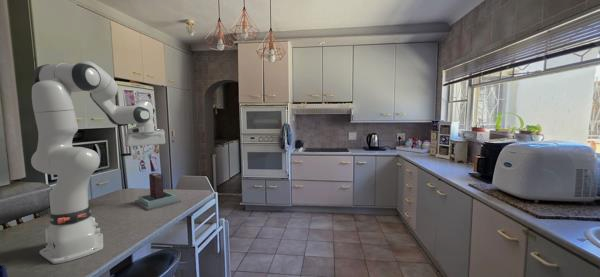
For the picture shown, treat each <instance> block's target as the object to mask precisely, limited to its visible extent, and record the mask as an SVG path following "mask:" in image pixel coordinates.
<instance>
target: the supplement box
mask: <svg viewBox="0 0 600 277" xmlns="http://www.w3.org/2000/svg"><path fill="white" fill-rule="evenodd" d="M148 176H149V193H150V194H149V195H150V197H151V200H157V199H161V198H164V193H163V192H164V178H163V176H164V175H163V174H161V173H158V172H154V173H149V174H148Z"/></svg>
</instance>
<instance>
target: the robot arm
mask: <svg viewBox="0 0 600 277" xmlns="http://www.w3.org/2000/svg"><path fill="white" fill-rule="evenodd" d="M32 80H33V82H34V84H33V85H32V87H31V101H32V102H31V103H32V109H33V114H34V119H35V124H36V126H37V133H38V134H37V135H38V140H37V147H36V151H35V152H34V153H33V154H32V155H31V156H32V157H31V158H30V164H31V166H32V167H33V169H35V170H36V171H38V172H40V173H42V174H46V175H52V176H53V175H54V176H55V175H56V176H57V179H56V184H55V186H54V188H53V189H51V190H50V192H49V195H48V196H49V207H50V209H49V210H50V213H49V217H48V218H49V223H50V225H49V226H48V227H47V228H46V229H45V230H44V231H45V232H44V234H45V248H42V249H41V250H39V255H41V257H43V258H44V259H46V260H48V261H49V262H50V263H52V264H53V265H54V264H63V263H67V262H70V261H74V260H77V259H80V258H84V257H87V256H89V255H92V254H95V253H97V252H99V251H101V250H103V249H104V234H103V233H101V227H98V226H99V224H98V222H96V218H95V217H93V216H92V210H91V206H90V205H89V193H88V192H89V190H88V189H89V184H90V179H91V177H92V175H93V174H94V172H95V171H97V170H98V169H99V166H100V163H101V158H100V155H99V153H98V152H97V151H95V150H93V149H91V148H87V147H83V146H73V139H74V136H75V134H76V133H78V130H79V125H78V121H77V115H76V111H75V107H74V106H75V105H74V103H73V99H72V97H71V94H72V93H77V92H78V93H79V92H84V91H85V92H89V96H90V98H91V100H92V101H93V103H94V104H96V106H98V108H99V109H100V110H101V111H102V112H103V113H104V114H105V115H106V116H107V118H108V120H109V121H110V122H111V123H112V125H117V126H118V125H132V124H133V125H134V124H135V126H133V127H129V128H128V129H126V134H125V137H124V145H125V146H126V147H132V149H133V150H134V151H135V155H140V150H138V149H137V147H141V146H142V147H143V146H155V149H154V148H153V153H158V149H159V148H160V145H165V144H166V137H165V135H166V131H165V130H164V129H162V128H158V129H157V128H155V123H154V109H153V108H154V107H153V104H152V103H151V102H150V101H147V100H137V101H136V103H135V104H133V105H131V106H129V105H128V106H127V105H125V106H123V105H121V106H120V105H115V104H114V102H113V101H111V100H112V99H114V97H115V96H116V95H117V94H118V91H119V85H118V83H117V81H116V80H115V79H114V78H113V77H112V76H111V75H110V74H109V73H107V71H105V69H103V68H101V66H99V65H97V64H96V63H95V62H92V61H90V60H81V61H78V62H76V63H66V62H58V63H52V64H51V63H50V64H48V63H47V64H42V65H39V66H37V67H36V68H35V69H34V70H33V74H32ZM96 227H97V228H96Z"/></svg>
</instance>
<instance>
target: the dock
mask: <svg viewBox="0 0 600 277" xmlns="http://www.w3.org/2000/svg"><path fill="white" fill-rule="evenodd" d="M163 193H164V198H161V199H157V200H151V197H150V194H146V195H141V196H138V199H134V201H133V202H134V203H135V204H137V205H138V206H140V207H141V208H143V209H144V210H146V211H152V210H156V209H159V208H163V207H164V208H165V207H167V206H172V205H176V204H178V203H179V204H180V203H182V200H181V199H180V198H177V195H176V194H174V193H171V192H169V191H166V190H165V191H164V190H163Z"/></svg>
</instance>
